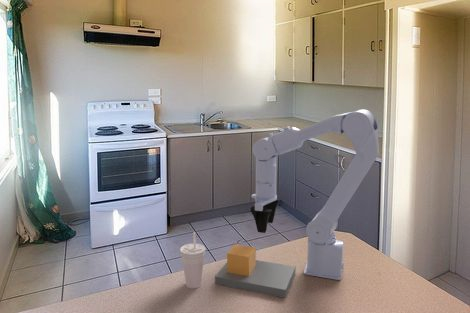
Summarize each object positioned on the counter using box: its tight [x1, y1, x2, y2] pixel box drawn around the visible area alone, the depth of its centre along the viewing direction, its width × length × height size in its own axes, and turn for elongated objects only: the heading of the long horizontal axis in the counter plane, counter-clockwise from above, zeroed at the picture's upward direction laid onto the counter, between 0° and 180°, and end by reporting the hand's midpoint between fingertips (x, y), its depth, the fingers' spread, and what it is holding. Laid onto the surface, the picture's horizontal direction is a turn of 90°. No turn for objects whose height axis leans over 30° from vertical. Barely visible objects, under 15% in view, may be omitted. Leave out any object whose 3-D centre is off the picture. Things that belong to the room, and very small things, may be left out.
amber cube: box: [226, 243, 257, 276], centre depth 96 cm, size 6×6×5 cm
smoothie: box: [179, 231, 207, 289], centre depth 92 cm, size 6×6×14 cm
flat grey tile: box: [214, 259, 297, 298], centre depth 95 cm, size 18×12×5 cm, turn 70°
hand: (265, 227), depth 105 cm, fingers open, 7 cm apart
